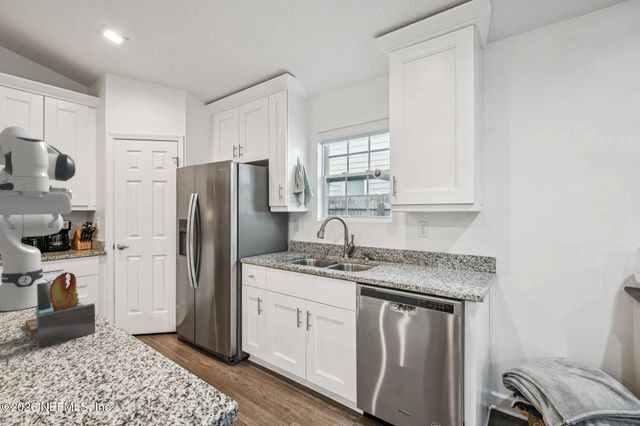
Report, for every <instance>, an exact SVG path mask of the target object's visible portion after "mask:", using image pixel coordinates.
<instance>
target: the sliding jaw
mask: <svg viewBox="0 0 640 426" xmlns="http://www.w3.org/2000/svg"><path fill="white" fill-rule="evenodd" d="M51 284H52V282H51V281H50V282H49V281H47V282H45V283H39V284H37V306H36V307H37V308H36V312H35V313H36V318H37V328H38V315H40V314H45V313H50V312H54V310H53V307H52V303H51V300H50V293H49V292H50V287H51ZM78 303H79V304H77V307H78V306H83V305H84V304H83V303H81V302H80V300H78ZM36 318H35V319H36Z"/></svg>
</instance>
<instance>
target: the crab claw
mask: <svg viewBox="0 0 640 426" xmlns="http://www.w3.org/2000/svg"><path fill="white" fill-rule="evenodd" d="M67 275H69V278H70V279H69V280H68V282H69V284H68V283H67ZM49 293H50V300H51V306H52V307H53V310H54V311H59V310H64V309H69V308H73V307H77V304H79V303H78V301H80V298H79V294H78V292H77V278H76V275H75V274H74V273H72V272H68V271H67V272H63V273H61V274H59V275H58V276H56V278H54V280H53V281H52V282H51V287H50V292H49Z"/></svg>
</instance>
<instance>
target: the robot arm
mask: <svg viewBox="0 0 640 426" xmlns="http://www.w3.org/2000/svg"><path fill="white" fill-rule="evenodd" d="M0 166H4V167H2V169H1V170H0V256H1V263H2V272H1V274H0V275H1V276H0V280H1V281H0V282H1V284H0V312H8V311H9V312H10V311H11V312H12V311H18V310H24V309H29V308H34V307H37V284H39V283H45V282H48V281H47V280H45V279H44V278H43V277H44V271H43V267H42V253H41V251H40V249H39V248H37V247H35V246H32V245H30V244H25V243H23V242H21V241H20V238H26V237H42V236H43V237H44V236H49V235H54V234H58V233H59V232H60V231H61V230H62V229H63V226H64V218H63V217H62V215H69V214H71V213H72V211H73V209H72V203H71V200H72V198H73V193H72V191H71V190H70V189H68V188H65V187H50V181H52V180H53V181H59V182H67V181H68V180H71V179H72V178H73V177H74V176H75V174H76V169H77V168H76V164H75V160H74V159H73V158H72V157H71V156H70V155H68V154H65V153H62V152H61V151H60V150H58V149H57V148H56V147H54V146H53V145H51V144H48V143H46V142H45V141H44V140H42V139H38V138H37V137H36V136H35V135H34V134H33V133H32V132H31V131H29V130H27V129H25V128H24V127H20V126H8V127H5V128H4V129H3V130H2V131H1V132H0Z"/></svg>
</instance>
